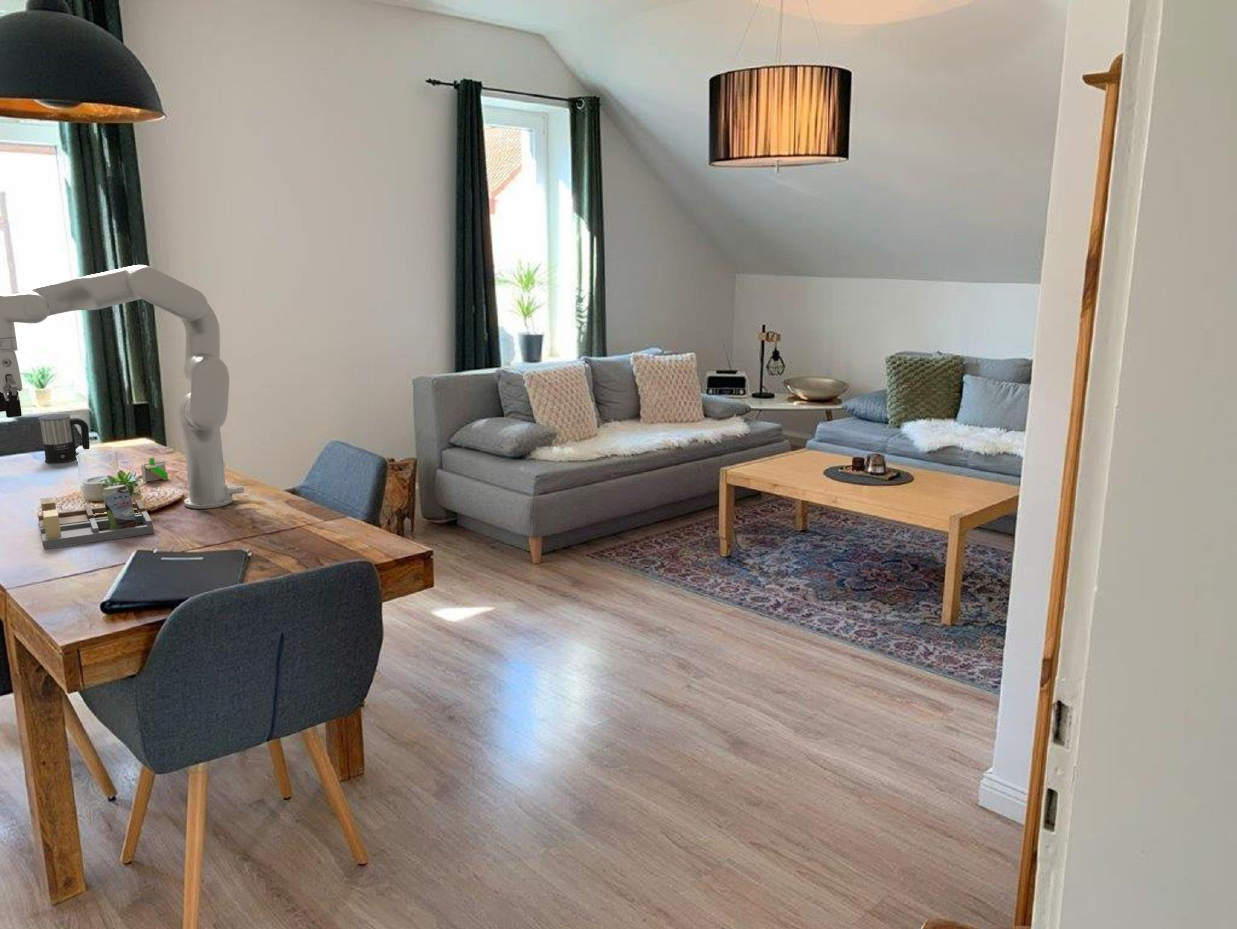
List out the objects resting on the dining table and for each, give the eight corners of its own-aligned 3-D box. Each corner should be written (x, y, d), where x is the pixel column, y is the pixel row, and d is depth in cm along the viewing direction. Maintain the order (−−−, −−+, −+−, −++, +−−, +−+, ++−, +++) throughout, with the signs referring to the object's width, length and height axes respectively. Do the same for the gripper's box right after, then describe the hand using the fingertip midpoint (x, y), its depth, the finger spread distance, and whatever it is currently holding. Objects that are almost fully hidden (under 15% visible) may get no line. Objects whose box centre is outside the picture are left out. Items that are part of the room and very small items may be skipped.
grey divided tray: (147, 520, 250) (144, 495, 248) (153, 533, 240) (150, 506, 238) (41, 535, 237) (37, 508, 235) (43, 549, 227) (39, 521, 226)
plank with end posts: (140, 508, 260) (137, 484, 259) (146, 520, 250) (143, 494, 249) (38, 522, 248) (35, 496, 246) (41, 534, 238) (37, 507, 236)
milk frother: (53, 465, 307) (47, 420, 304) (28, 458, 316) (22, 414, 312) (97, 456, 319) (91, 413, 315) (72, 450, 327) (66, 408, 324)
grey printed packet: (126, 536, 238) (121, 489, 235) (100, 533, 239) (95, 488, 236) (143, 528, 244) (138, 483, 241) (118, 526, 245) (112, 481, 242)
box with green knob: (171, 481, 290) (168, 456, 288) (148, 485, 286) (145, 460, 284) (166, 479, 293) (163, 454, 291) (143, 483, 288) (140, 457, 286)
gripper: (27, 346, 227) (36, 417, 231) (6, 340, 239) (15, 407, 243) (-10, 349, 222) (0, 421, 226) (-29, 342, 233) (-19, 411, 237)
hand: (8, 414), depth 234 cm, fingers open, 9 cm apart
